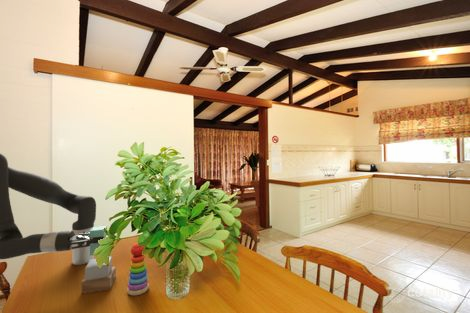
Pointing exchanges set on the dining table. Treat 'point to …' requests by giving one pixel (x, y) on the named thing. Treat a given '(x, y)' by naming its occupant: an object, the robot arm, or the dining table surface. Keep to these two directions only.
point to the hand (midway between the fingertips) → (105, 237)
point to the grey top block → (97, 270)
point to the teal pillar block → (96, 233)
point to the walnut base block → (99, 282)
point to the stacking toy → (137, 272)
